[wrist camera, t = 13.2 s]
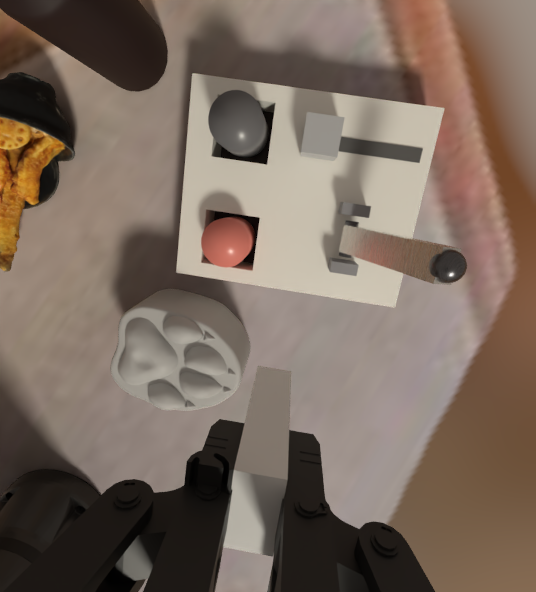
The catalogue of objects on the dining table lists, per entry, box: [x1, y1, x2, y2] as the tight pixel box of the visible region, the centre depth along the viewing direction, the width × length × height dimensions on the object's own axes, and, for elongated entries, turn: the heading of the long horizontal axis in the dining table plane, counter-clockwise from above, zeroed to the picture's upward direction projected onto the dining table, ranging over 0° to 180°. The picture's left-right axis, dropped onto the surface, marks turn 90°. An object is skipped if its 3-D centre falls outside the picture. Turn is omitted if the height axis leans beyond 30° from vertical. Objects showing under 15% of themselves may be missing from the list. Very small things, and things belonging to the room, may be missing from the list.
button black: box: [208, 90, 268, 158], centre depth 32 cm, size 4×4×6 cm
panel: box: [176, 73, 444, 308], centre depth 35 cm, size 22×18×6 cm
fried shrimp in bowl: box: [0, 72, 75, 271], centre depth 35 cm, size 9×11×18 cm
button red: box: [201, 216, 256, 267], centre depth 36 cm, size 4×4×6 cm
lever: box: [339, 220, 467, 285], centre depth 28 cm, size 2×3×13 cm
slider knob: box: [301, 112, 345, 161], centre depth 31 cm, size 3×3×3 cm
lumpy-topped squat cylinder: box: [110, 289, 250, 411], centre depth 38 cm, size 10×13×9 cm
